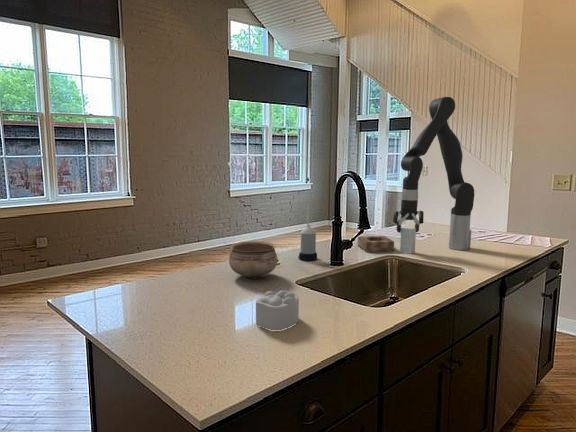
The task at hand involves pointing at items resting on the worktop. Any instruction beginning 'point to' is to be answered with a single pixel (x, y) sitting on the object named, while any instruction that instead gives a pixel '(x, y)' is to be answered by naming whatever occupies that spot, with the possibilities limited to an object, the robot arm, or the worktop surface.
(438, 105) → the robot arm
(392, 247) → the holder
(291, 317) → the lumpy-topped squat cylinder
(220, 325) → the worktop surface
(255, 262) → the cooking pot
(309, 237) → the grey bottle
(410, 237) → the skincare box
